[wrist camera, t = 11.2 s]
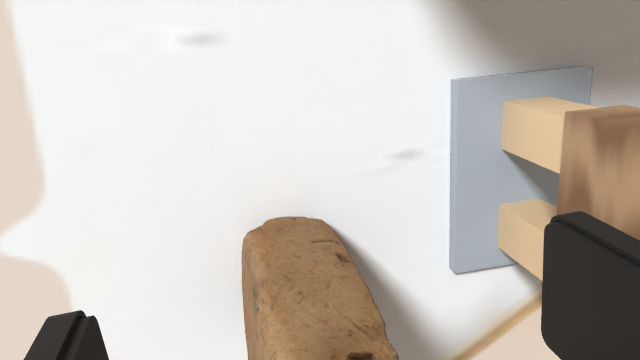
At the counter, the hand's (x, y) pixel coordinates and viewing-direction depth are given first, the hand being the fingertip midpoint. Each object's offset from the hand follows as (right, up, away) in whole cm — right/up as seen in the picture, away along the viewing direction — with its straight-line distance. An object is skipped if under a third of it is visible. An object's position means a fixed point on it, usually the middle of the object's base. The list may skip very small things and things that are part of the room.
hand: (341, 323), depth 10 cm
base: (+17, +4, +35) cm, 39 cm away
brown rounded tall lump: (-3, -4, +33) cm, 33 cm away
